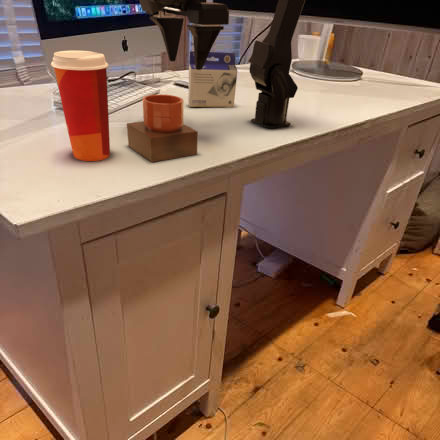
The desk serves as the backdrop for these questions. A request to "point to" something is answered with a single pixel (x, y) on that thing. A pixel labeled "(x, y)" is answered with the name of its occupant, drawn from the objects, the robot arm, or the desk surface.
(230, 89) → the ink box
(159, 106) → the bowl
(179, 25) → the robot arm
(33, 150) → the desk surface
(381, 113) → the desk surface
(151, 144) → the stand
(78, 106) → the coffee cup
